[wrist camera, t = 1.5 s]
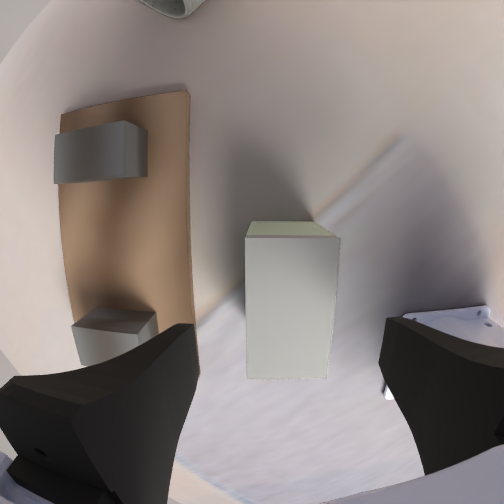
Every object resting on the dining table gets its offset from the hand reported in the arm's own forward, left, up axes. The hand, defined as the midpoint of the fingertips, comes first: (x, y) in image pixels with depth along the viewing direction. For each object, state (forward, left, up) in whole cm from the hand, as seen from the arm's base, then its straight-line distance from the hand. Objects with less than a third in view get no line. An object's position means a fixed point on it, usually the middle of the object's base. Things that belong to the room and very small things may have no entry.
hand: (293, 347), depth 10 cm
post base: (+11, -2, -10) cm, 15 cm away
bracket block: (0, 0, -10) cm, 10 cm away
